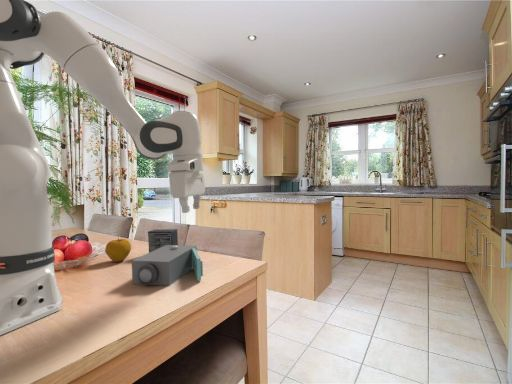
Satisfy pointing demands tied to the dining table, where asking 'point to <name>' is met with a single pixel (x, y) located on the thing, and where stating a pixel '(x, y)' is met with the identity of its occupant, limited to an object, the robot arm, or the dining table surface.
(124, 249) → the apple
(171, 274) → the block
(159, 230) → the small box
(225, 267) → the dining table surface
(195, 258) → the side door
